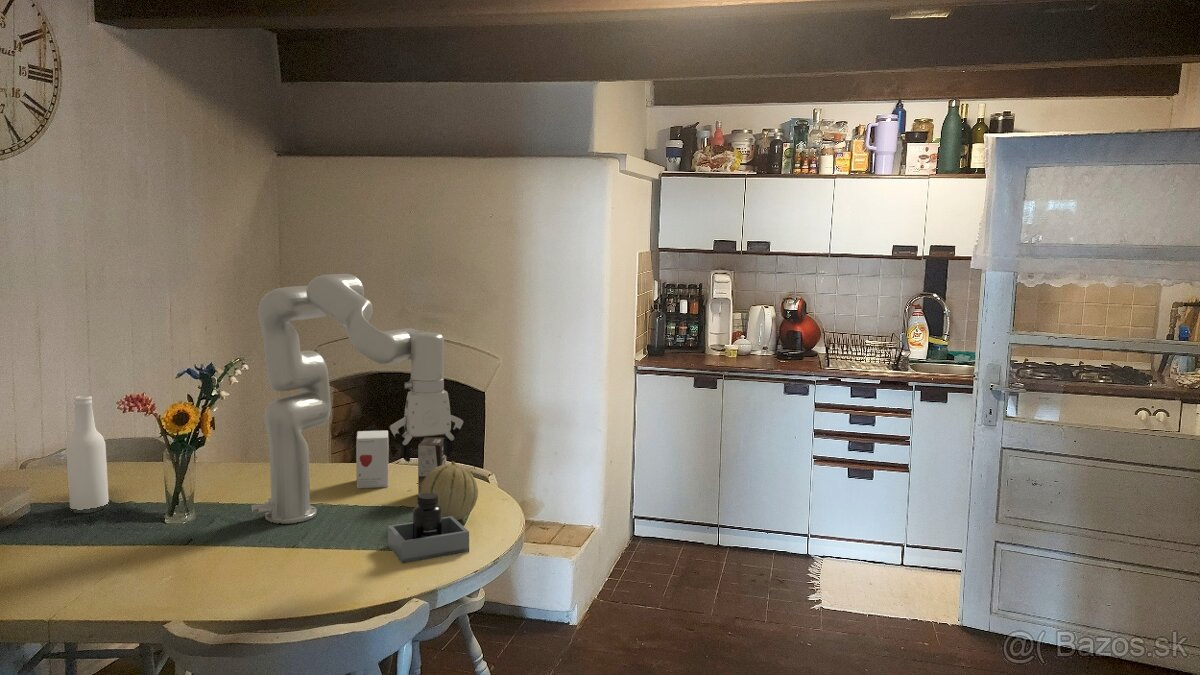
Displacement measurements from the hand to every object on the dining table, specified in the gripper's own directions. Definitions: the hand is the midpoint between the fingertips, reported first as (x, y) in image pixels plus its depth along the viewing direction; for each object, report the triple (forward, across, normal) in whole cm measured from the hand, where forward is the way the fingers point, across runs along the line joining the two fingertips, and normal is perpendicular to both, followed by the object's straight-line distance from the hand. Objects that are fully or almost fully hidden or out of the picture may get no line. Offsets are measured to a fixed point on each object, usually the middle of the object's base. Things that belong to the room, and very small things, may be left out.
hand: (426, 457), depth 203 cm
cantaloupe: (+22, +11, +17) cm, 30 cm away
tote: (+22, 0, 0) cm, 22 cm away
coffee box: (+23, +13, +37) cm, 45 cm away
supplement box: (+23, +1, +56) cm, 60 cm away
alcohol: (+24, -71, +65) cm, 99 cm away
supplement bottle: (+21, 0, 0) cm, 21 cm away
